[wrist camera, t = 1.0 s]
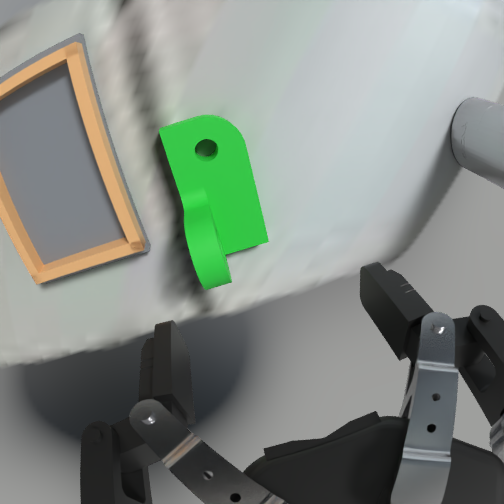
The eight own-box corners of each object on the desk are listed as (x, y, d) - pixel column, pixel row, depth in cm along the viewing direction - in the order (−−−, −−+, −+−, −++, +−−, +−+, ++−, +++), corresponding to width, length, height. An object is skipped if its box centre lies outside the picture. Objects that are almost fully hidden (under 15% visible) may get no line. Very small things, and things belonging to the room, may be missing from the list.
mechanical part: (263, 231, 30) (288, 280, 23) (202, 250, 29) (209, 304, 23) (232, 106, 23) (252, 115, 16) (160, 127, 23) (149, 146, 16)
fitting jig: (83, 34, 17) (73, 30, 15) (150, 245, 28) (148, 259, 26) (-24, 98, 16) (-39, 101, 14) (49, 277, 27) (41, 292, 25)
